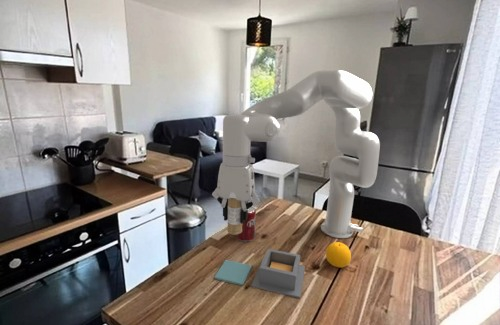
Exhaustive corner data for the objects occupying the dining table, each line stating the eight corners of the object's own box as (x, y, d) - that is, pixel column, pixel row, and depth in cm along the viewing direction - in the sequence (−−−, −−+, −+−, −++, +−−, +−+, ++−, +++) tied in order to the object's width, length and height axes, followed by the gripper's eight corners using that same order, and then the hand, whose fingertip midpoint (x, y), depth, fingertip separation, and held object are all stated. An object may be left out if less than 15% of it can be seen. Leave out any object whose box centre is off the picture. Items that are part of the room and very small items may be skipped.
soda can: (255, 233, 106) (256, 205, 103) (253, 243, 99) (255, 213, 96) (237, 231, 107) (238, 204, 104) (234, 241, 100) (235, 212, 97)
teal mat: (251, 267, 86) (251, 265, 86) (242, 285, 78) (242, 283, 77) (225, 261, 88) (225, 259, 88) (214, 278, 80) (214, 276, 80)
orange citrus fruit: (350, 260, 91) (353, 241, 89) (348, 274, 84) (351, 253, 82) (326, 254, 94) (329, 235, 92) (322, 266, 87) (325, 246, 85)
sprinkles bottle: (238, 226, 82) (239, 185, 78) (244, 233, 78) (246, 190, 75) (224, 229, 80) (225, 187, 77) (230, 236, 76) (230, 192, 73)
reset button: (292, 270, 84) (293, 265, 83) (289, 284, 78) (289, 280, 77) (271, 265, 86) (271, 261, 85) (266, 279, 79) (266, 274, 79)
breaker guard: (305, 267, 86) (306, 252, 85) (300, 298, 73) (301, 281, 72) (263, 258, 90) (264, 244, 89) (251, 286, 77) (252, 270, 76)
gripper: (269, 160, 75) (265, 219, 79) (213, 154, 79) (214, 210, 84) (262, 167, 68) (259, 231, 72) (202, 160, 72) (203, 221, 77)
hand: (235, 219), depth 78 cm, fingers closed on sprinkles bottle, 4 cm apart
